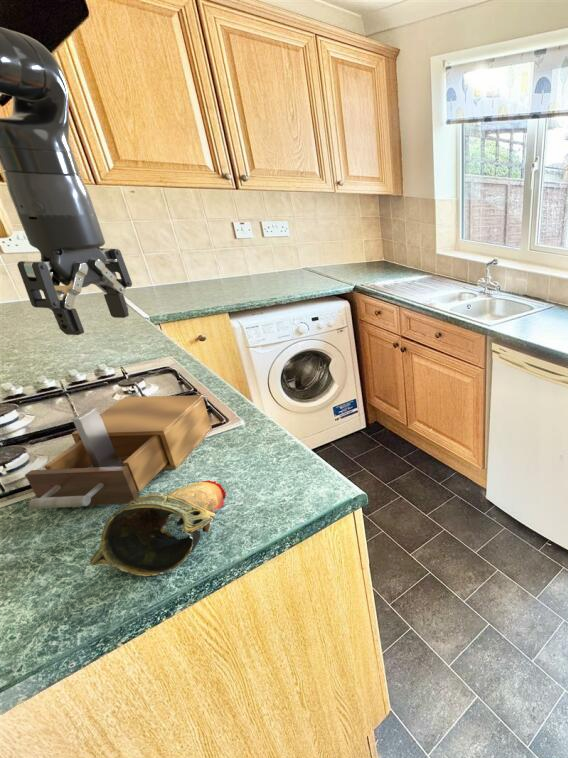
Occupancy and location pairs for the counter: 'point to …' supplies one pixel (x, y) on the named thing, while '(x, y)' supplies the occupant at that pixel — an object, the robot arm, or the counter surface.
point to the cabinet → (160, 422)
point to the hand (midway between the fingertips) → (99, 325)
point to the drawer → (98, 474)
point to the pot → (158, 529)
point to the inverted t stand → (96, 439)
